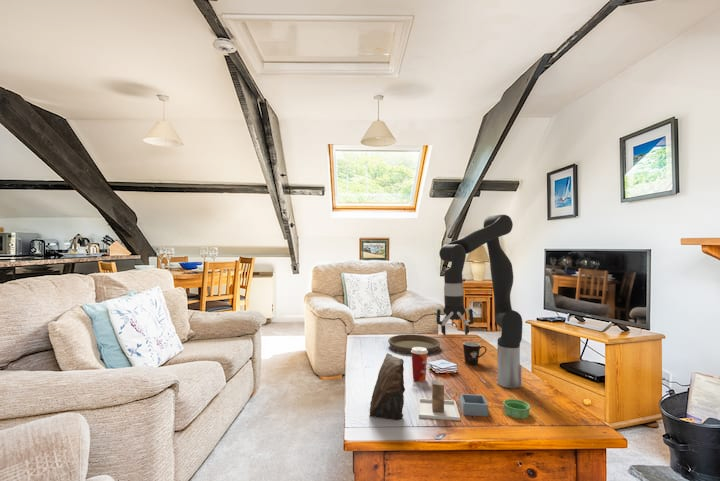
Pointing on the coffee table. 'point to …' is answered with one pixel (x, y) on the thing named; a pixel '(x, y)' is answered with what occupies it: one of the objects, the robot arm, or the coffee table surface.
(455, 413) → the cream tray
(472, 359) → the coffee mug
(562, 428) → the coffee table surface
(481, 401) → the blue-grey open box
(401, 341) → the plant saucer
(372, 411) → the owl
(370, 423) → the coffee table surface
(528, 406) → the ramekin
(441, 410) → the walnut peg
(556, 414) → the coffee table surface
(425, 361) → the paper cup
